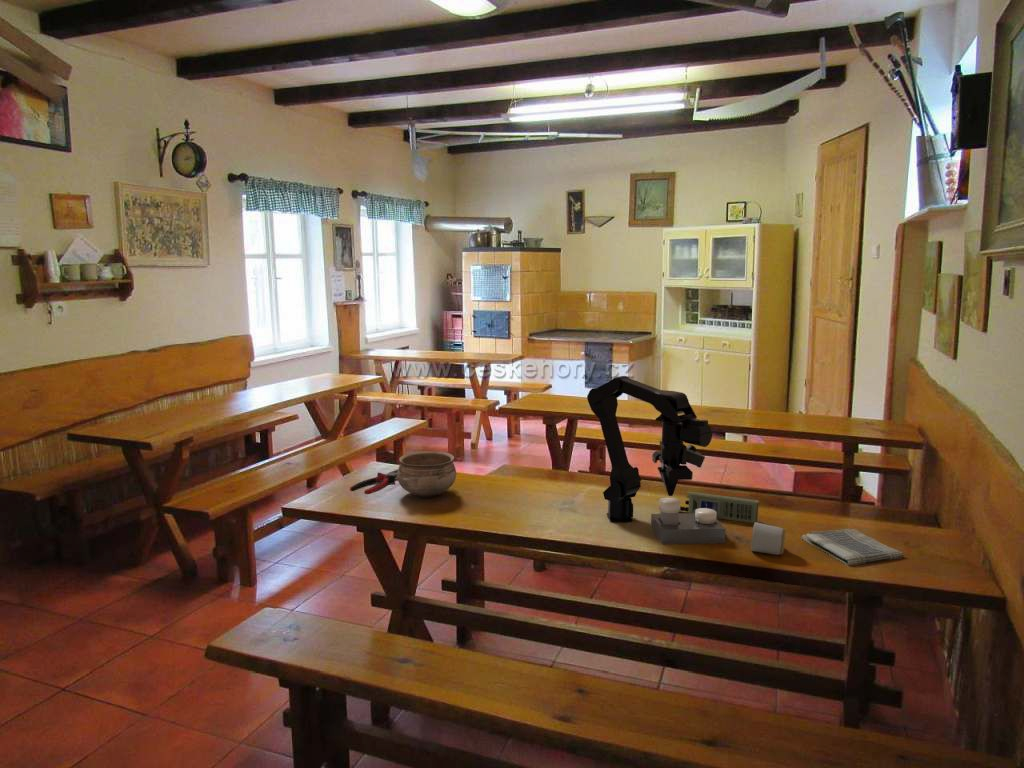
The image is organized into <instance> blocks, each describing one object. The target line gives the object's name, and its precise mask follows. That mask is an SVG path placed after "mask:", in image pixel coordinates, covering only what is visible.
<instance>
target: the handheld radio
mask: <svg viewBox="0 0 1024 768" xmlns="http://www.w3.org/2000/svg"><path fill="white" fill-rule="evenodd" d="M685 494H686V497H685V498H687V499H688V500H685V502H684V503H685V505H688V506H686V507H685V506H681V505H680V512H683V511H684V512H688V513H695V510H696V509H699V508H708V509H712V510H715V511H716V512H717V514H716V519H721V520H728V521H732V522H733V521H734V522H743V523H747V524H748V523H749V524H754V523H755V522H757V523H758V519H759V518H758V517H759V503H760V501H759V500H758V499H748V498H740V497H735V496H734V497H733V496H727V495H726V496H725V495H718V494H712V493H711V494H710V493H704V492H703V493H702V492H694V491H686V492H685Z"/></svg>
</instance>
